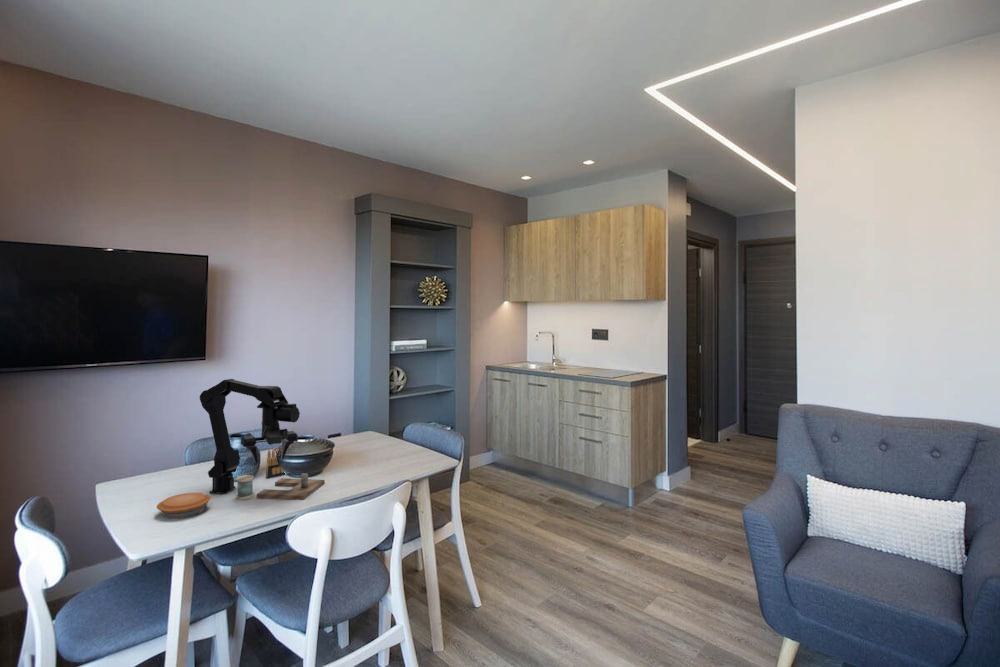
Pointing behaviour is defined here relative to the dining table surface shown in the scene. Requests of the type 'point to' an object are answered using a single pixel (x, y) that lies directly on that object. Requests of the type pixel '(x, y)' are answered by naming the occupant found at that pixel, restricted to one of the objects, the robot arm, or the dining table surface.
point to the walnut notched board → (299, 490)
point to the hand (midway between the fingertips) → (269, 461)
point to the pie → (183, 505)
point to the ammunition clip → (273, 465)
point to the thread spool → (245, 487)
